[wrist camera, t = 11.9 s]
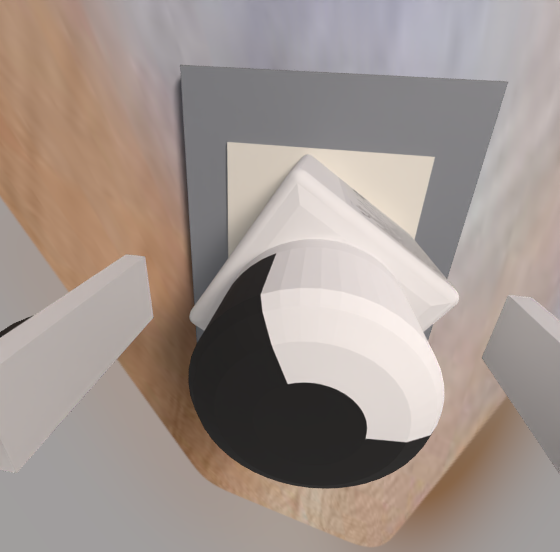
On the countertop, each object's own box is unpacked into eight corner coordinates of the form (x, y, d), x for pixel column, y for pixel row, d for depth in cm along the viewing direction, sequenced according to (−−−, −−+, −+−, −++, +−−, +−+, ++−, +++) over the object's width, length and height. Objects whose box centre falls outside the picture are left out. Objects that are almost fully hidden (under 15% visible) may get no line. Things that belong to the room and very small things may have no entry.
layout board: (187, 68, 17) (178, 64, 16) (497, 84, 16) (510, 81, 15) (201, 340, 25) (196, 350, 24) (412, 367, 24) (417, 379, 22)
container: (326, 323, 21) (330, 556, 10) (231, 255, 20) (104, 428, 9) (413, 236, 18) (571, 424, 7) (306, 150, 17) (270, 194, 5)
